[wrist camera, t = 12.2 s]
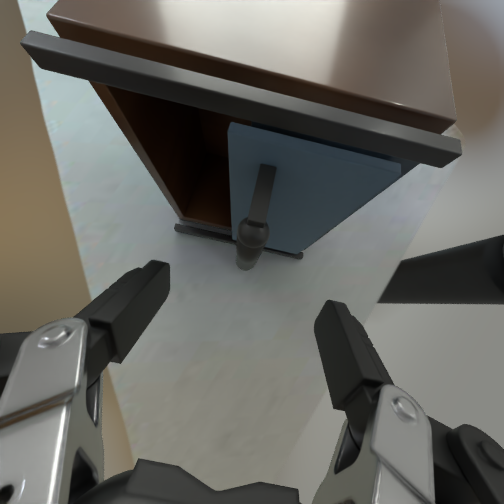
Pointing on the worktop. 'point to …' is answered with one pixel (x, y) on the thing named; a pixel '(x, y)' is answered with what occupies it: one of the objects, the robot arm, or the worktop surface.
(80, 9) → the cupboard
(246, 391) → the worktop surface
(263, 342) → the worktop surface
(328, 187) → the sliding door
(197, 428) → the worktop surface
